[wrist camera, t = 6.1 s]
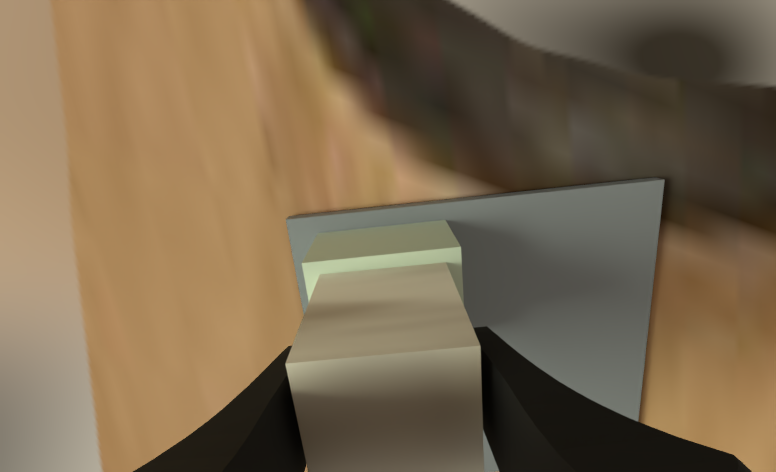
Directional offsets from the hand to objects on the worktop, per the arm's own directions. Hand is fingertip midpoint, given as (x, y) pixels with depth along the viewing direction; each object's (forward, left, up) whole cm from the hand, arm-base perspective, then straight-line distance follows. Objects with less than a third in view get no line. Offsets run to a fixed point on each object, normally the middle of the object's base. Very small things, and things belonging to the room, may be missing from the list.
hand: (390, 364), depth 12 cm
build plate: (-4, -4, -6) cm, 9 cm away
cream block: (0, 0, -2) cm, 2 cm away
